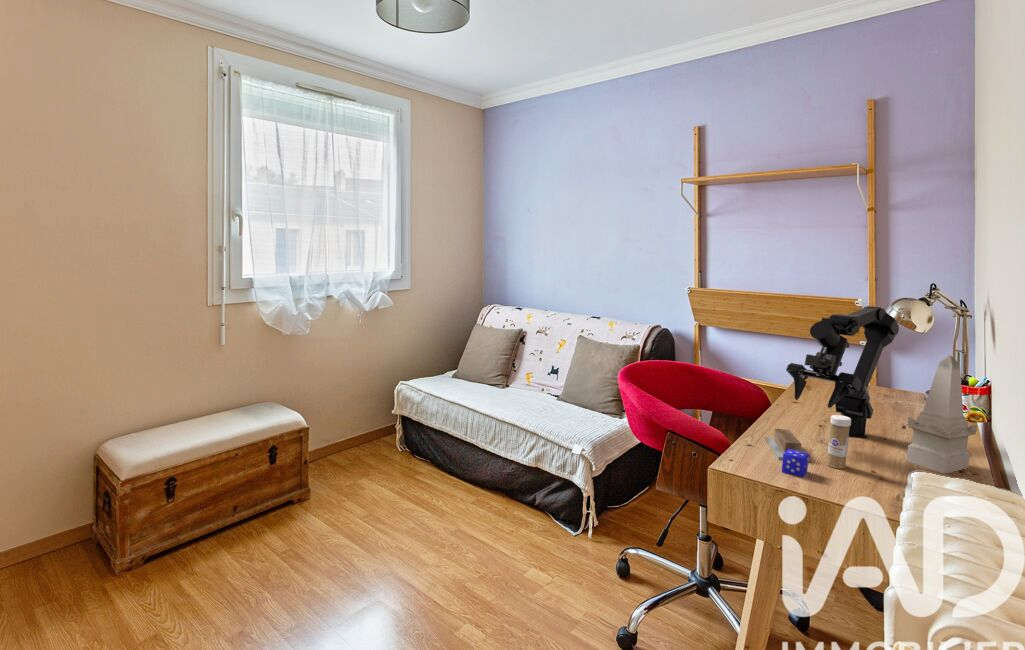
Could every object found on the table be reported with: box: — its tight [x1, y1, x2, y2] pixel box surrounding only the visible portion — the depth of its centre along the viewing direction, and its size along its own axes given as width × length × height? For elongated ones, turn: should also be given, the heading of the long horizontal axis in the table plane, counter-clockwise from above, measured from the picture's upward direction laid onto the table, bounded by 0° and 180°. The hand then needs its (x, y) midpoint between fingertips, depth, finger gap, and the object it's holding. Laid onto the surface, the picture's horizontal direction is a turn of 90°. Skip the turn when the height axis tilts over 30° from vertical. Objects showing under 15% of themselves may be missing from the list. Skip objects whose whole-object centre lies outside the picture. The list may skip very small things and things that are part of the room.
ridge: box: [764, 428, 812, 463], centre depth 156 cm, size 8×16×4 cm, turn 168°
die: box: [781, 449, 810, 478], centre depth 141 cm, size 5×5×5 cm
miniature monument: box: [905, 354, 978, 475], centre depth 145 cm, size 10×10×30 cm
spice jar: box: [826, 414, 851, 470], centre depth 144 cm, size 5×5×14 cm
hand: (812, 403), depth 155 cm, fingers open, 9 cm apart
